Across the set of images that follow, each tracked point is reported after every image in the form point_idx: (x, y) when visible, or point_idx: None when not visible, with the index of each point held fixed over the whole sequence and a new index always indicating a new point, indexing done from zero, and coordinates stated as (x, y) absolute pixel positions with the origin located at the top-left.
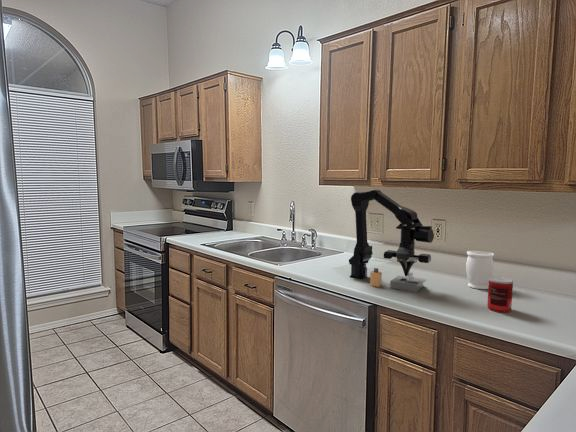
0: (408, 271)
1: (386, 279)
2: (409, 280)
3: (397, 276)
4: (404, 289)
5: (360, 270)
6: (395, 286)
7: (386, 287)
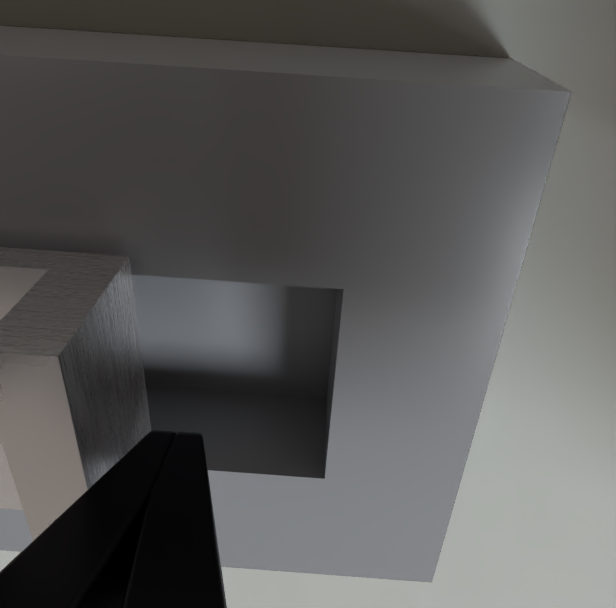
0: (37, 544)
1: (601, 543)
2: (44, 262)
3: (434, 539)
4: (167, 36)
5: None
6: (389, 60)
7: (599, 70)
